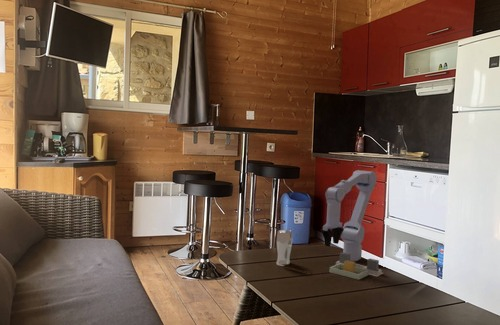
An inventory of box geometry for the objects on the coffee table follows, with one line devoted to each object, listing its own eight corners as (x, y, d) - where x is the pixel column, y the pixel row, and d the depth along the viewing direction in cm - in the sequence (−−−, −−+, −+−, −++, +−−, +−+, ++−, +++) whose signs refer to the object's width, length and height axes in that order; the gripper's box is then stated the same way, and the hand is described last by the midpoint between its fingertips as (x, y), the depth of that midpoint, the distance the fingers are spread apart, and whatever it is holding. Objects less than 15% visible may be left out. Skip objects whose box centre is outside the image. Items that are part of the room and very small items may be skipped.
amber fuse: (345, 273, 176) (346, 260, 176) (354, 275, 173) (355, 262, 173) (343, 274, 174) (343, 261, 174) (351, 276, 171) (352, 263, 171)
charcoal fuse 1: (341, 264, 187) (342, 252, 187) (349, 266, 184) (350, 254, 184) (339, 265, 185) (339, 253, 185) (347, 267, 182) (348, 255, 182)
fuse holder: (340, 264, 190) (341, 259, 190) (383, 275, 177) (383, 269, 177) (333, 267, 184) (333, 262, 184) (376, 278, 172) (377, 272, 171)
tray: (339, 270, 181) (339, 263, 181) (368, 277, 173) (368, 270, 173) (329, 274, 174) (329, 267, 174) (358, 282, 166) (359, 274, 166)
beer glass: (272, 264, 184) (274, 231, 183) (279, 261, 190) (280, 229, 190) (287, 267, 181) (289, 233, 180) (293, 264, 187) (295, 231, 186)
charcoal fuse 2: (369, 271, 179) (369, 258, 178) (378, 273, 176) (378, 260, 176) (366, 272, 177) (367, 259, 177) (375, 274, 174) (376, 261, 174)
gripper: (333, 217, 177) (331, 248, 178) (349, 214, 188) (347, 243, 189) (319, 215, 182) (317, 245, 182) (335, 212, 193) (333, 241, 193)
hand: (331, 244), depth 186 cm, fingers open, 7 cm apart
